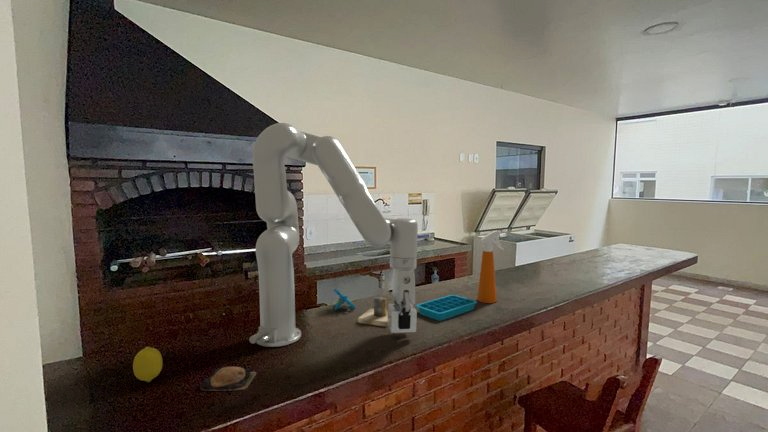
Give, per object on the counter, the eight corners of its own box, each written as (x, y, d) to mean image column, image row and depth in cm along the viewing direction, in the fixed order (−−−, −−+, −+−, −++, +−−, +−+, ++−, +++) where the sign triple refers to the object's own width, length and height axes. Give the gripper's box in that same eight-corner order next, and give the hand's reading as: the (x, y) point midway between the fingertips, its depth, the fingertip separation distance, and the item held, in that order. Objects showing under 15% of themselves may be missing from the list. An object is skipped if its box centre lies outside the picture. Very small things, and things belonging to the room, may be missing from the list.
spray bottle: (508, 301, 140) (510, 231, 138) (485, 304, 136) (486, 232, 134) (496, 295, 146) (497, 229, 144) (473, 299, 142) (474, 230, 140)
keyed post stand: (357, 322, 118) (357, 301, 118) (370, 312, 127) (370, 292, 127) (387, 326, 114) (387, 304, 114) (398, 316, 124) (398, 295, 123)
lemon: (168, 375, 86) (166, 341, 85) (154, 388, 80) (152, 352, 79) (143, 375, 85) (141, 341, 85) (128, 388, 80) (125, 352, 79)
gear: (359, 308, 127) (337, 288, 126) (347, 321, 126) (325, 302, 125) (354, 302, 138) (334, 284, 137) (343, 315, 137) (323, 297, 135)
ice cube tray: (478, 309, 131) (478, 301, 131) (439, 323, 118) (439, 314, 118) (452, 302, 140) (452, 294, 140) (414, 314, 127) (414, 305, 127)
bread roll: (258, 374, 87) (258, 359, 87) (244, 394, 79) (244, 377, 78) (213, 374, 87) (212, 358, 87) (194, 394, 79) (193, 377, 79)
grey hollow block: (391, 332, 103) (392, 311, 103) (387, 323, 110) (387, 303, 110) (416, 331, 104) (416, 310, 104) (410, 322, 111) (411, 303, 111)
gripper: (424, 268, 98) (421, 335, 99) (409, 256, 115) (407, 313, 116) (395, 269, 96) (394, 336, 98) (385, 256, 114) (384, 313, 115)
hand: (401, 323), depth 107 cm, fingers closed on grey hollow block, 7 cm apart
